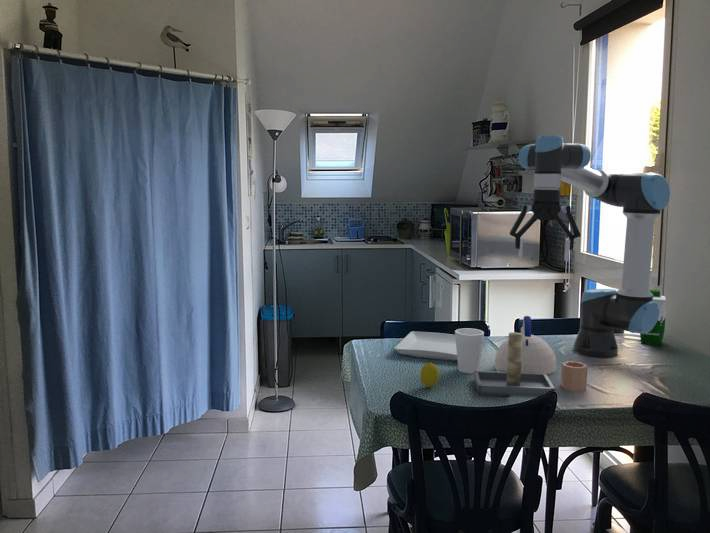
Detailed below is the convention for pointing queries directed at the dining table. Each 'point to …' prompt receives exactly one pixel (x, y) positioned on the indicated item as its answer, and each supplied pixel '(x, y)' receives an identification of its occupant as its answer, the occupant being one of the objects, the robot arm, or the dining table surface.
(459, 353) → the foam cup
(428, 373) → the lemon
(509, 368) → the peg
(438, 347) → the square plate
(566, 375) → the pink octagonal cup
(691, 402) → the dining table surface
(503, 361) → the kettle
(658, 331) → the milk carton
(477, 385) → the tray
